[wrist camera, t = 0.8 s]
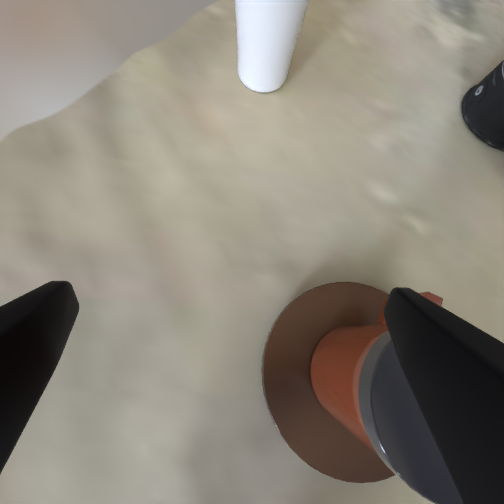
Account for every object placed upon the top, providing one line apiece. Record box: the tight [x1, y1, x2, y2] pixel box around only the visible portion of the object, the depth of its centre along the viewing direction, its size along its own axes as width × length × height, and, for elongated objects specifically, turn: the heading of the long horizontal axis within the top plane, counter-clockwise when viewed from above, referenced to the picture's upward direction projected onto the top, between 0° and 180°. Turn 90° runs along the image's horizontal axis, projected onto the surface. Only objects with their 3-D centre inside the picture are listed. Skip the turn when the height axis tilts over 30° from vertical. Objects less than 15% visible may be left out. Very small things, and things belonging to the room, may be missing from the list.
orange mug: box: [311, 292, 463, 504], centre depth 16 cm, size 9×7×9 cm
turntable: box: [262, 282, 396, 483], centre depth 21 cm, size 14×14×1 cm
